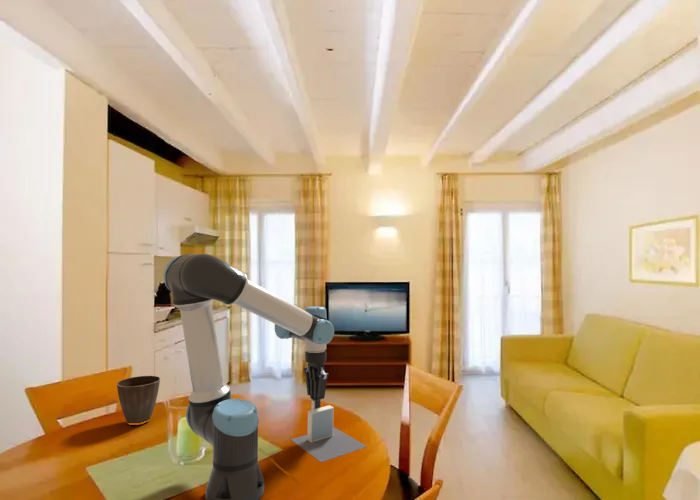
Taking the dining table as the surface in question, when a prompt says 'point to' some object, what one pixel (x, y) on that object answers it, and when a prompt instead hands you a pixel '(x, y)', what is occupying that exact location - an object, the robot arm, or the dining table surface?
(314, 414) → the tile
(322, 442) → the mat
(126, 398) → the plant pot
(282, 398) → the dining table surface
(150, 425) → the dining table surface
